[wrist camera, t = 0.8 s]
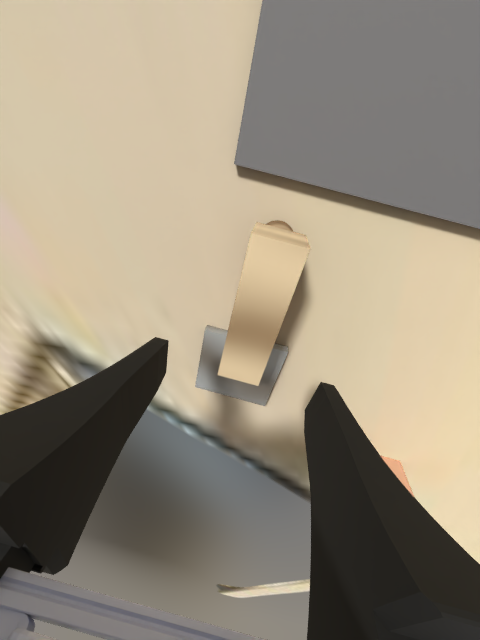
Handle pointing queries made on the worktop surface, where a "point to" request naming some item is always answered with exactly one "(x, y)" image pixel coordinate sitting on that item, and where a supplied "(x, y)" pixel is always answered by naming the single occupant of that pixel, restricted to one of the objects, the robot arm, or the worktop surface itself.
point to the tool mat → (369, 101)
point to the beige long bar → (255, 317)
